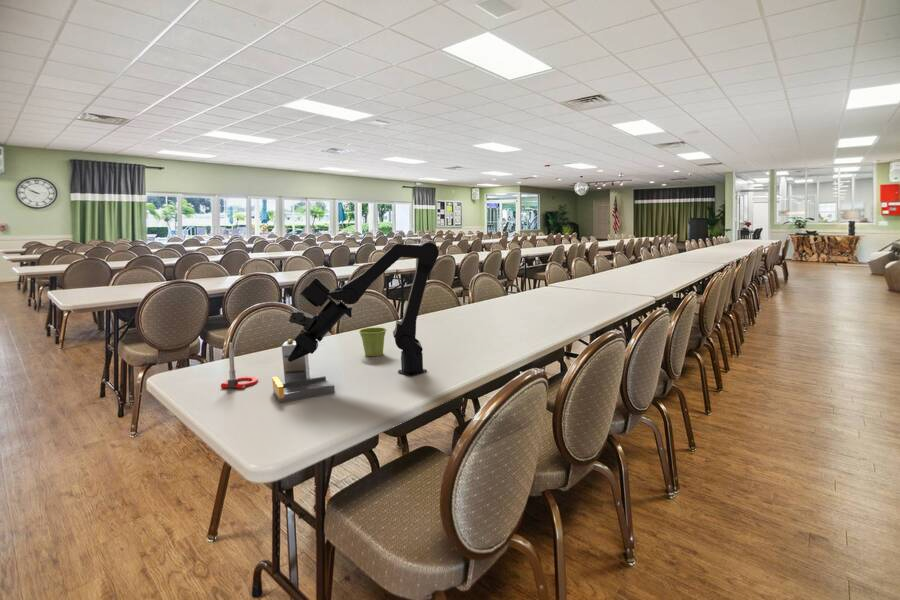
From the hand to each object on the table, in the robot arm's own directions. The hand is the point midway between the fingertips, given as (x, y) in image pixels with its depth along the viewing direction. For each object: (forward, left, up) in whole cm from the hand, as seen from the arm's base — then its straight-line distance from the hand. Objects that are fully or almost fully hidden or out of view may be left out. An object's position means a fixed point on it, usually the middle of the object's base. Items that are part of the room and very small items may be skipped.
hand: (290, 358), depth 134 cm
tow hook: (+8, +11, -7) cm, 16 cm away
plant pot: (+6, -33, -7) cm, 34 cm away
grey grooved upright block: (-1, -1, -7) cm, 7 cm away
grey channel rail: (-12, +2, -7) cm, 14 cm away
